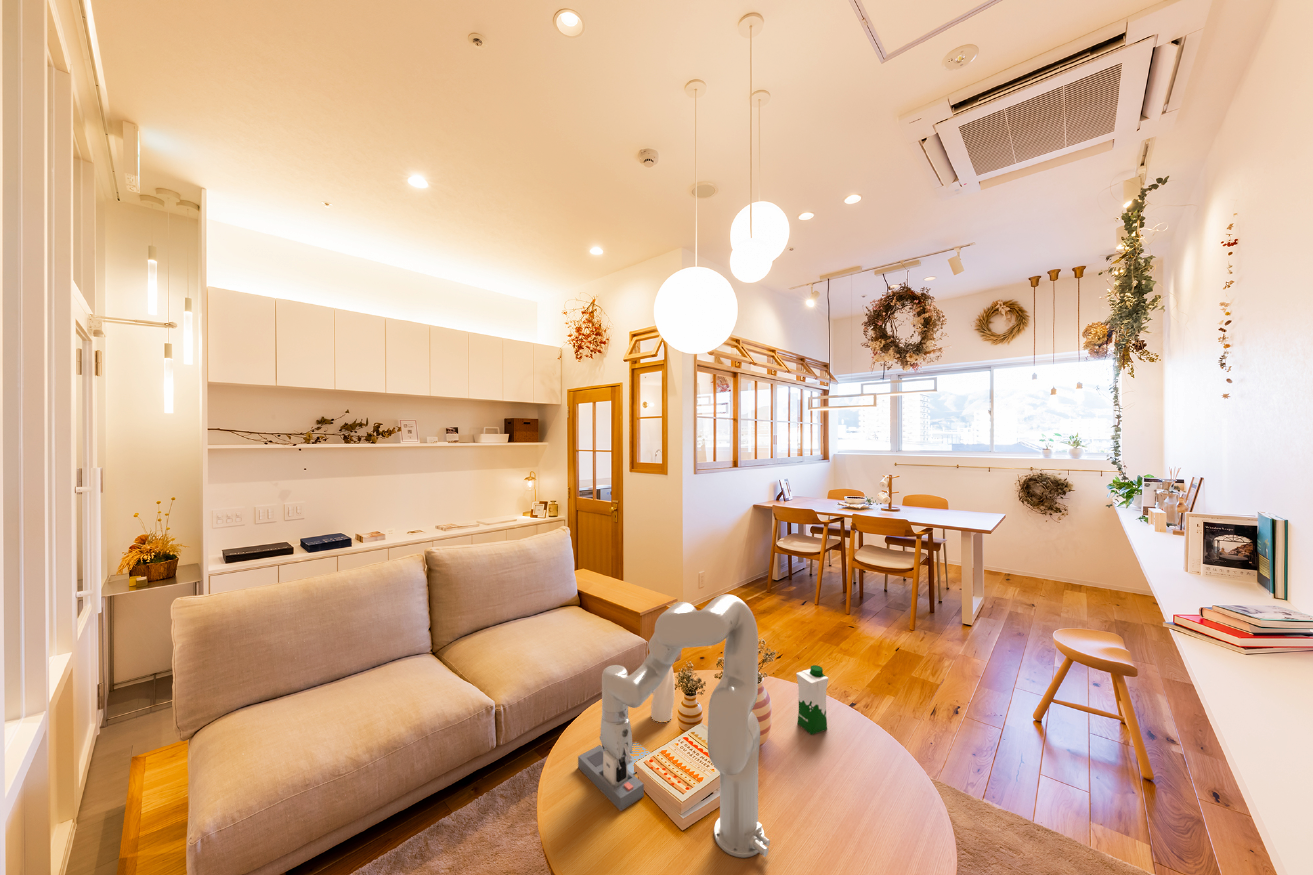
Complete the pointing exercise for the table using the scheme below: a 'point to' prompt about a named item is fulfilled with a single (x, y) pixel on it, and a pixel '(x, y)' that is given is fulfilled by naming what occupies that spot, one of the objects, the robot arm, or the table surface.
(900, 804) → the table surface
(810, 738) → the table surface
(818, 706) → the milk carton
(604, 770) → the block
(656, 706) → the water bottle
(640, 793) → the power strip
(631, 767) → the coaster
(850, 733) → the table surface
